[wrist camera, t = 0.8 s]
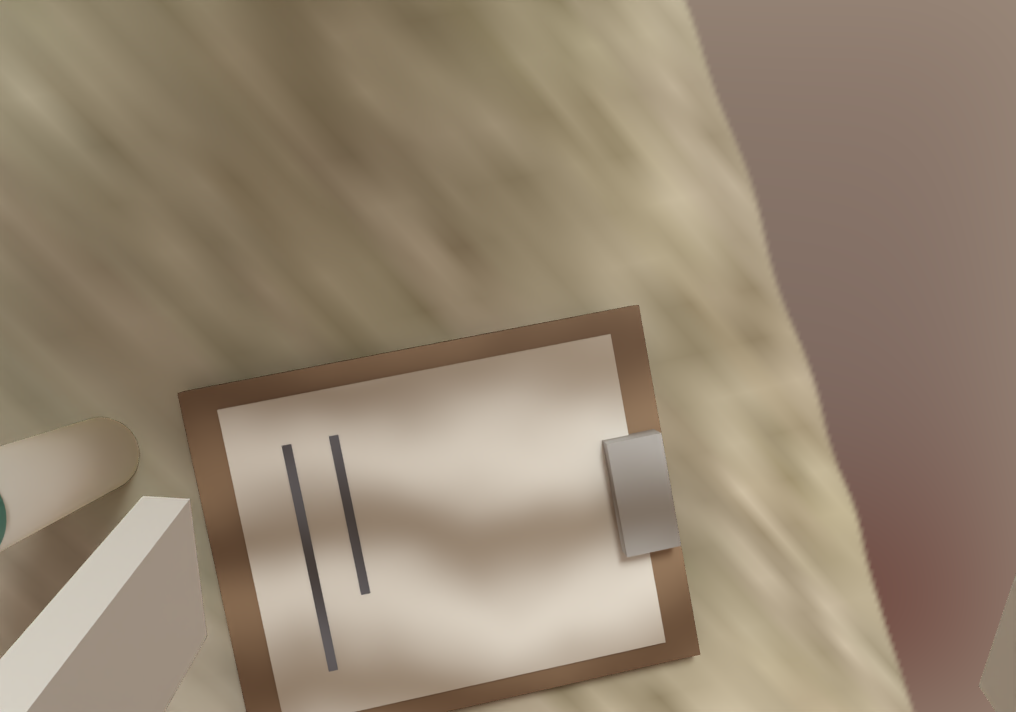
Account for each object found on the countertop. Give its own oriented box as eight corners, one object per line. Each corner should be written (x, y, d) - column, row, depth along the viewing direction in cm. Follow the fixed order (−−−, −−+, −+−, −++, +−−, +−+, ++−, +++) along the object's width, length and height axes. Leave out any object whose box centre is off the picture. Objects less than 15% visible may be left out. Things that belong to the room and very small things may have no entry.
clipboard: (185, 390, 35) (168, 396, 33) (633, 305, 36) (645, 304, 34) (260, 742, 36) (249, 770, 34) (693, 645, 38) (709, 666, 35)
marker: (51, 423, 35) (-210, 497, 21) (132, 408, 35) (-72, 471, 21) (69, 500, 35) (-178, 626, 21) (149, 484, 35) (-42, 598, 21)
